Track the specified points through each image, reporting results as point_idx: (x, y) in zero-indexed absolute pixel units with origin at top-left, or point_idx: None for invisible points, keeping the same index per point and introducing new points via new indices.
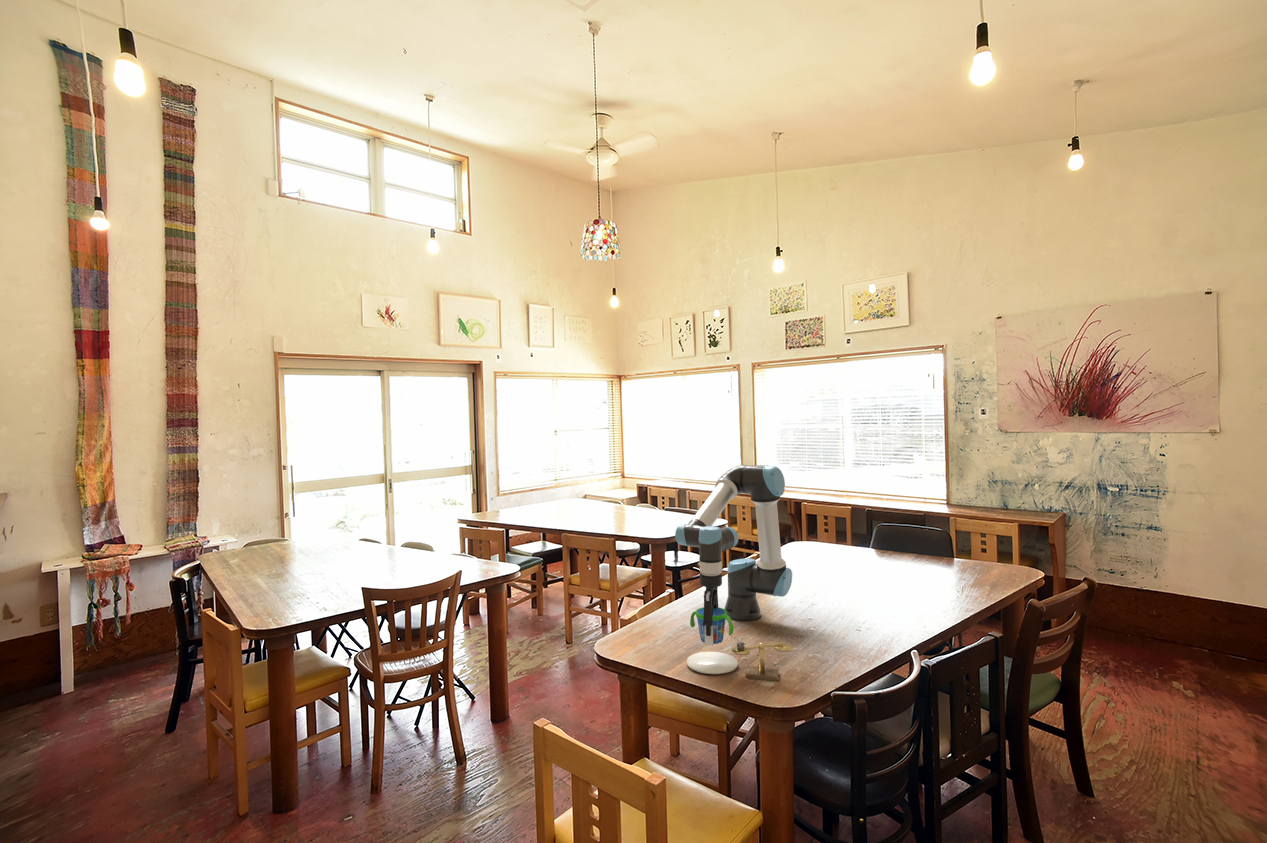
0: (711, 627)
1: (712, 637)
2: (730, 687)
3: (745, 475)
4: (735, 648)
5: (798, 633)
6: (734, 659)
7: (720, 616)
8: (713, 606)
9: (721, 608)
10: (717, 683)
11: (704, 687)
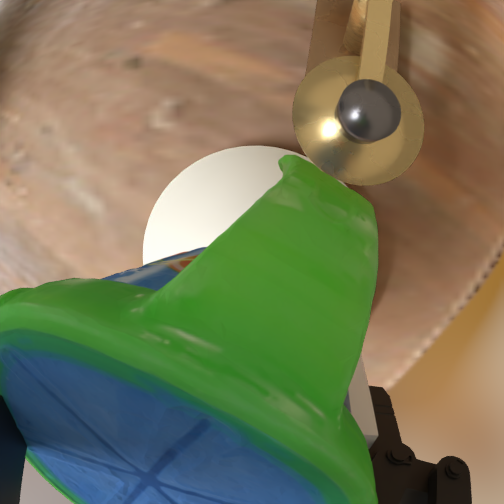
0: (371, 429)
1: (360, 361)
2: (474, 205)
3: None
4: (339, 152)
5: (14, 5)
6: (220, 159)
7: (355, 453)
8: (7, 438)
9: None
10: (442, 255)
11: (464, 304)
